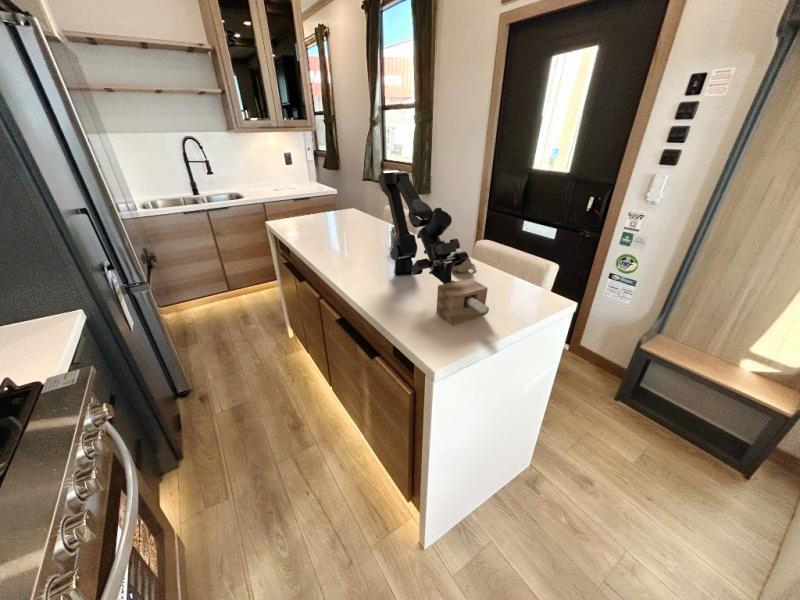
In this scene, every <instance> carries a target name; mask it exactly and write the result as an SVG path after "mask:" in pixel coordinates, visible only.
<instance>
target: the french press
mask: <svg viewBox="0 0 800 600" xmlns="http://www.w3.org/2000/svg"><path fill="white" fill-rule="evenodd" d="M389 220H390V222H392V223H391V225H394V223H393V219H392V218H390V219H389ZM408 221H409V218H406V222H408ZM395 236H396V232H395V228H394V226H391V231H390V246H389V247H388V250H390V251H391V250H392V249H393V247H394V243H393V242H394V239H395Z"/></svg>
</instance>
